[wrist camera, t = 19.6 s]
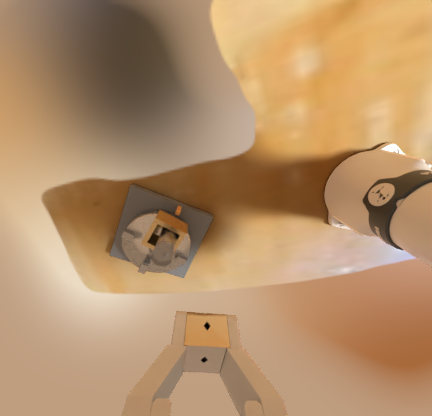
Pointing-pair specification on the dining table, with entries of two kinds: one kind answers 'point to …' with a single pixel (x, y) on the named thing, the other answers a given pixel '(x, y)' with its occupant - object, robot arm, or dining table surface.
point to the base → (150, 200)
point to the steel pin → (164, 247)
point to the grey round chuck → (155, 240)
